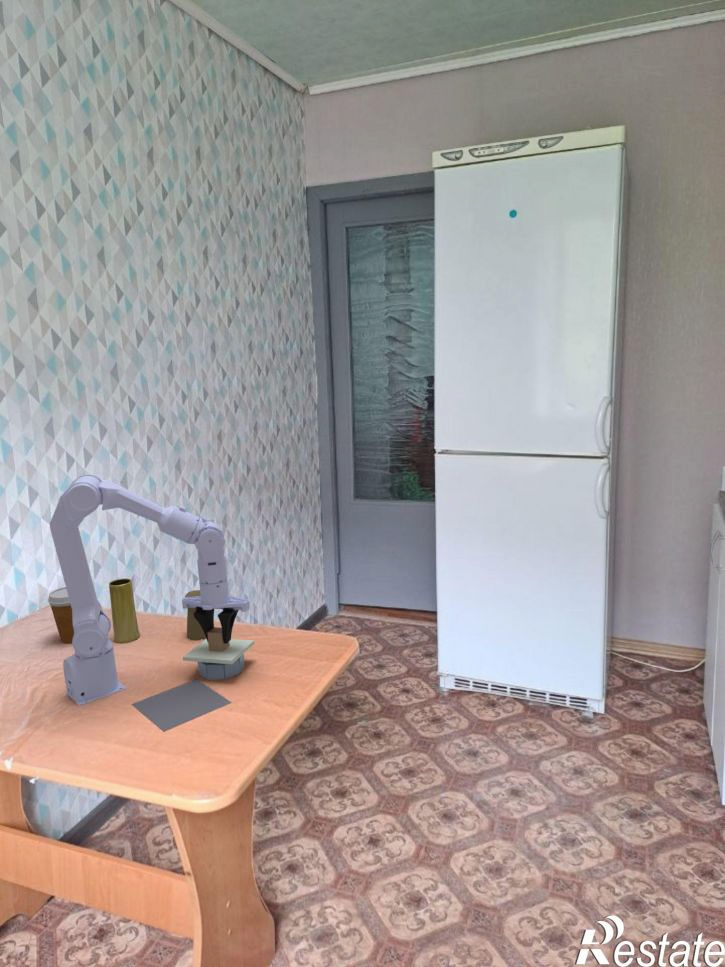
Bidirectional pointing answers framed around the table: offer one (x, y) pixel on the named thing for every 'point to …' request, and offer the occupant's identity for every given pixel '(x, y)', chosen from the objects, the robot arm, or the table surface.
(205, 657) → the lid
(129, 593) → the vase
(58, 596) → the disposable coffee cup
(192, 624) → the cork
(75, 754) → the table surface
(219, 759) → the table surface
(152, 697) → the mat
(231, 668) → the bowl
